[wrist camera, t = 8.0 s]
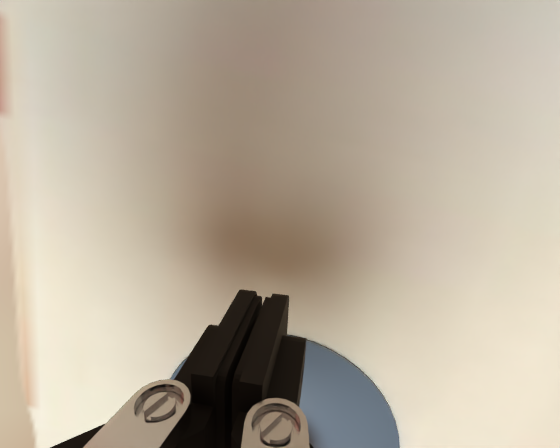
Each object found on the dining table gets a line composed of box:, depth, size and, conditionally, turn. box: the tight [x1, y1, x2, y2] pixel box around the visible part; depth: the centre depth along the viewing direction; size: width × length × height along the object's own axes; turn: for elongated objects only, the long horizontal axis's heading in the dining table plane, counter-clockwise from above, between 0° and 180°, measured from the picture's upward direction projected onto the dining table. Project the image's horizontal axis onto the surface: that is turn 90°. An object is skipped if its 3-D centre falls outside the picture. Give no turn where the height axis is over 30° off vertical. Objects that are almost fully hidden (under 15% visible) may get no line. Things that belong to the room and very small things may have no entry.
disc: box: [171, 335, 400, 448], centre depth 19 cm, size 14×14×1 cm
